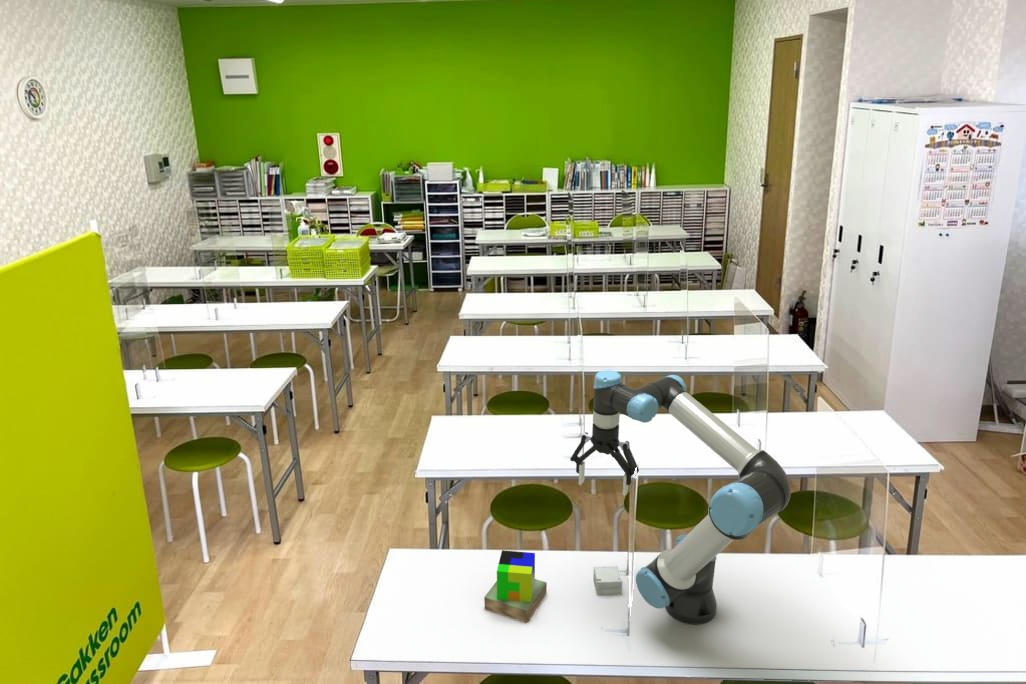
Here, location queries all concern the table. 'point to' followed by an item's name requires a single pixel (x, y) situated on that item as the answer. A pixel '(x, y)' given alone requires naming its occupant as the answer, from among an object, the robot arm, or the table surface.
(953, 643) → the table surface
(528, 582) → the puzzle toy
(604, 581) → the small box
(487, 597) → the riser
